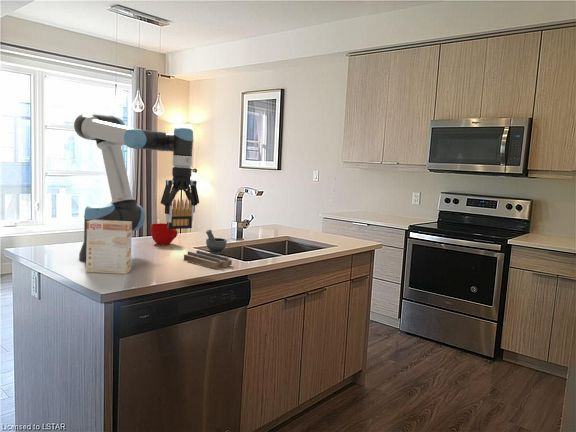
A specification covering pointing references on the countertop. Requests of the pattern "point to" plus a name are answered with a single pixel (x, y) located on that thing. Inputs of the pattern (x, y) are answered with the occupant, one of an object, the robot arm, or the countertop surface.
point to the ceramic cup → (162, 234)
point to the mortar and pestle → (215, 243)
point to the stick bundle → (207, 259)
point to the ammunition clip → (181, 215)
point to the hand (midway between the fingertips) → (179, 221)
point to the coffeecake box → (108, 246)
